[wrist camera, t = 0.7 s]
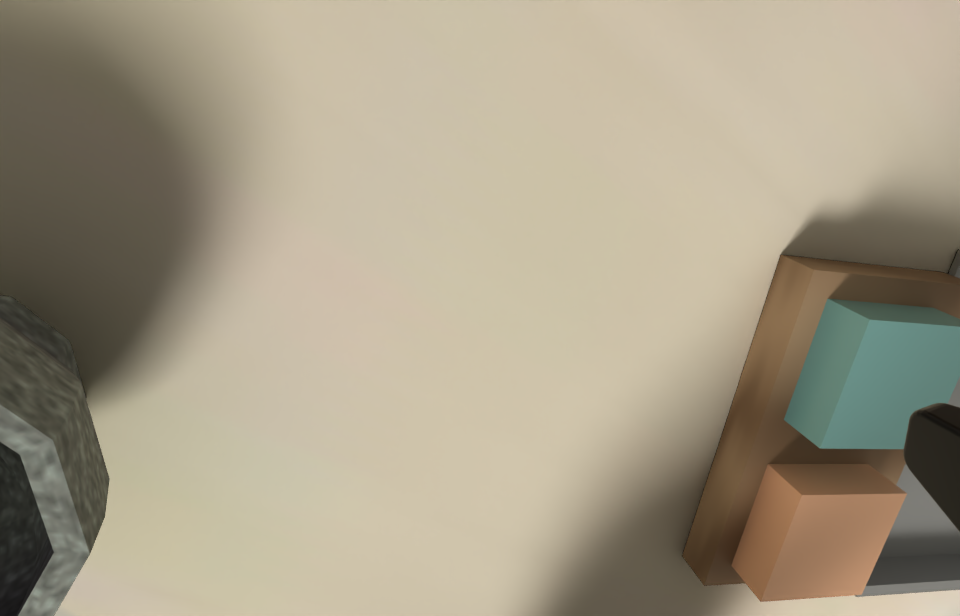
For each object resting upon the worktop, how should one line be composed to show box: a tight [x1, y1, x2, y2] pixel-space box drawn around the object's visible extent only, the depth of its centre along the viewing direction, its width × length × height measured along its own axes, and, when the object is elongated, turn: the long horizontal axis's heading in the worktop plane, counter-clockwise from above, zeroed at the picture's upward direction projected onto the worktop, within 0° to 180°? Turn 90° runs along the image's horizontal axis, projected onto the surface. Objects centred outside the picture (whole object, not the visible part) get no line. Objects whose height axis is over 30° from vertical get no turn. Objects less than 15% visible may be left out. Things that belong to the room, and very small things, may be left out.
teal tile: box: [784, 299, 960, 449], centre depth 25 cm, size 5×5×2 cm
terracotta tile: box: [731, 464, 907, 602], centre depth 27 cm, size 5×5×2 cm
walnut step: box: [682, 255, 960, 586], centre depth 28 cm, size 14×8×2 cm, turn 171°
